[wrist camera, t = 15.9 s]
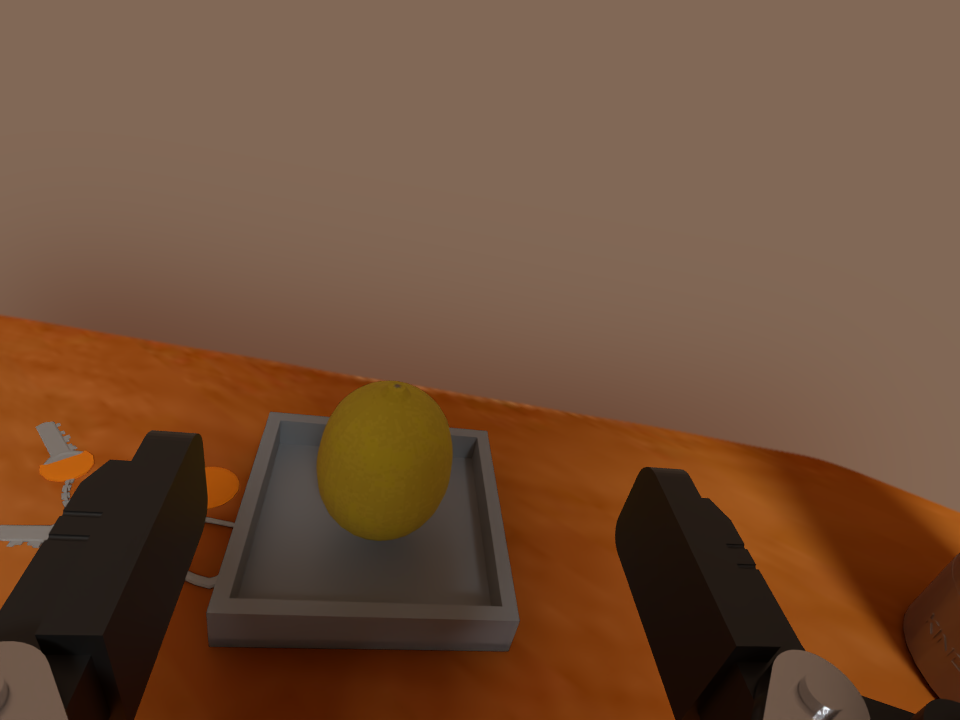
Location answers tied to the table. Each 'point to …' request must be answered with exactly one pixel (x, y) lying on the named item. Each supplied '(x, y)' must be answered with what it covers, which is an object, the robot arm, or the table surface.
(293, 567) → the tray
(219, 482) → the key chain
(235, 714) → the table surface
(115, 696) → the robot arm
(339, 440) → the lemon
